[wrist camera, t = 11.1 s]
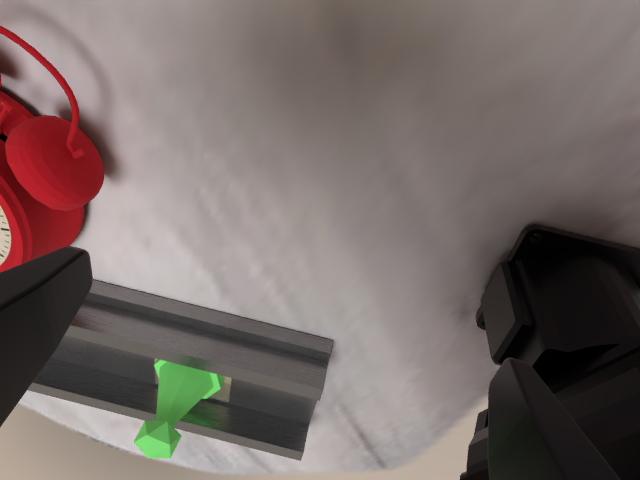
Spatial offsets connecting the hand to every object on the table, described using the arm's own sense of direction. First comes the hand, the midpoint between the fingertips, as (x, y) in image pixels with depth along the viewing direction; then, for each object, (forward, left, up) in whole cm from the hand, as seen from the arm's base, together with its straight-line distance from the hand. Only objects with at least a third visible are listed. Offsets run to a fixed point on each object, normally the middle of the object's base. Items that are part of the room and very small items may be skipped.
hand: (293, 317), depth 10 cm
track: (+10, +18, -12) cm, 24 cm away
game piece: (+6, +18, -11) cm, 22 cm away
